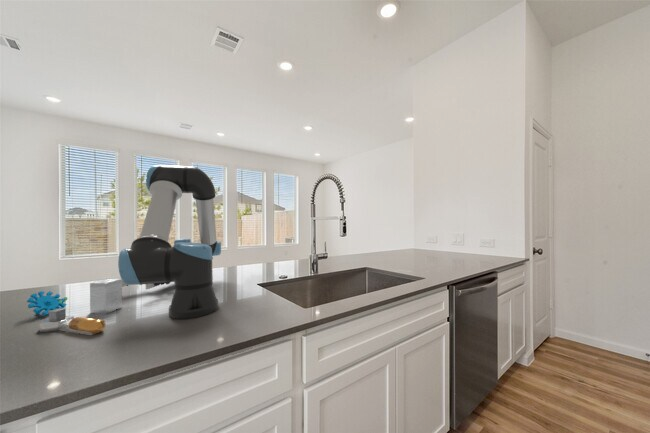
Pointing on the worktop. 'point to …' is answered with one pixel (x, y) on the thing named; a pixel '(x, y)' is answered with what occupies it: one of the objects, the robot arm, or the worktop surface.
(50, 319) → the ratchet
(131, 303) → the worktop surface
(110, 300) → the brushed metal block
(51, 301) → the gear
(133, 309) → the worktop surface
